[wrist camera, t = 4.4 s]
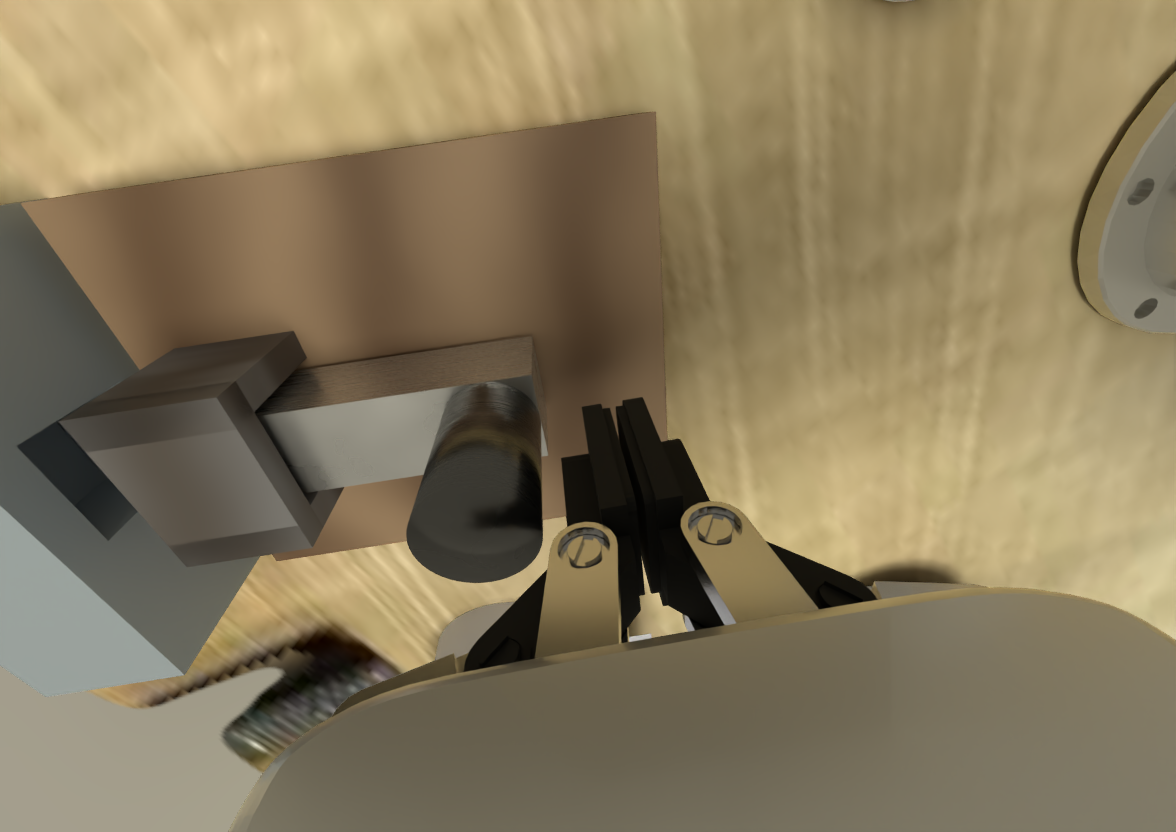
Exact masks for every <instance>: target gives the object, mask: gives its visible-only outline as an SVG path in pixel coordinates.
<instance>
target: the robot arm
mask: <svg viewBox="0 0 1176 832" xmlns="http://www.w3.org/2000/svg"><path fill="white" fill-rule="evenodd" d="M1077 263H1078V271H1079V278H1080V285H1081V287H1082V289H1083V291H1084V293H1085V296H1086V298H1087V300H1088V302H1089V303H1090V304H1091V305H1092V306H1093V307H1094V308H1095V309H1096V310H1097V311H1098V312H1099V313H1100V314H1101V315H1102V316H1104V317H1106V318H1108V319H1110V320H1112V321H1114V322H1117V323H1119V324H1121V325H1124V326H1128V327H1131V328H1134V329H1138V330H1141V331H1144V332H1148V333H1161V334H1176V71H1175V72H1174V73H1173V74H1172V75H1171V76H1170V77H1169V78H1168V79H1167V80H1166V81H1165V83H1164V84H1163V85H1162V86H1161V87H1160V88H1159V89H1158V90H1157V92H1156V93H1155V94H1154V96H1153V97H1152V98H1151V100H1150V101H1149V102H1148V103H1147V105H1146V106H1145V107H1144V109H1143V110H1142V111H1141V113H1140V114H1139V115H1138V117H1137V118H1136V119H1135V120H1134V122H1133V123H1132V124H1131V126H1130V127H1129V129H1128V130H1127V132H1126V133H1125V135H1124V137H1123V138H1122V140H1121V142H1120V143H1119V145H1118V146H1117V148H1116V150H1115V151H1114V153H1113V155H1112V156H1111V158H1110V159H1109V161H1108V163H1107V164H1106V166H1105V169H1104V171H1103V173H1102V175H1101V177H1100V179H1099V182H1098V184H1097V186H1096V188H1095V190H1094V192H1093V195H1092V197H1091V199H1090V202H1089V205H1088V208H1087V212H1086V215H1085V218H1084V222H1083V225H1082V228H1081V232H1080V241H1079V250H1078V259H1077ZM582 414H583V420H584V427H585V433H586V440H587V446H588V454H582V455H576V456H570V457H563V458H561V464H562V474H563V485H564V496H565V507H566V518H567V527H566V528H565V529H563V530H562V531H561V532H559V533H558V535H557V536H556V537H555V538H554V540H553V542H552V545H551V548H550V554H549V561H548V568H547V570H546V571H545V572H544V573H543V574H542V575H541V576H540V577H539V578H538V579H537V580H536V581H535V582H534V583H533V584H532V585H531V586H530V587H529V588H528V589H527V590H526V591H525V592H524V593H523V594H522V595H521V597H520V598H519V599H518V600H517V601H516V602H515V603H514V604H513V605H512V606H511V607H510V608H509V609H508V610H507V611H506V612H505V613H504V614H503V615H502V616H501V617H500V618H499V619H498V620H497V621H496V622H495V623H494V624H493V625H492V626H491V627H490V628H489V629H488V630H487V631H486V632H485V633H484V634H483V635H482V636H481V637H480V638H479V639H478V640H477V641H476V643H475V644H474V645H473V647H472V648H471V649H470V651H469V653H467V654H465V655H462V656H460V657H457V658H456V657H455V655H454V653H453V654H450V655H448V656H445V657H443V658H440V659H438V660H435V661H433V662H430V663H428V664H425V665H423V666H420V667H418V668H415V669H413V670H410V671H408V672H405V673H403V674H400V675H397V676H395V677H392V678H390V679H387V680H385V681H382V682H380V683H377V684H375V685H372V686H370V687H367V688H365V689H362V690H360V691H358V692H357V693H355V694H353V695H351V696H350V697H348V698H347V699H346V700H345V701H344V702H343V703H342V704H341V705H340V706H339V707H338V708H337V709H336V711H335V712H334V714H333V715H332V717H331V718H329V719H327V720H326V721H324V722H322V723H320V724H319V725H317V726H316V727H314V728H313V729H311V730H310V731H308V732H307V733H305V734H304V735H303V736H301V737H300V738H299V739H297V740H296V741H295V742H293V743H292V744H291V745H289V746H288V747H287V748H286V749H285V750H284V751H283V752H282V753H281V754H280V755H279V756H278V757H277V758H276V759H275V760H274V761H273V762H272V763H271V764H270V765H269V767H268V768H267V769H266V770H265V772H264V773H263V774H262V775H261V777H260V778H259V780H258V781H257V783H256V784H255V786H254V787H253V789H252V790H251V792H250V793H249V795H248V796H247V798H246V800H245V801H244V803H243V805H242V807H241V808H240V810H239V812H238V814H237V816H236V817H235V820H234V821H233V823H232V825H231V827H230V829H229V831H228V832H1176V640H1175V639H1173V638H1172V637H1170V636H1169V635H1167V634H1166V633H1164V632H1162V631H1161V630H1159V629H1157V628H1156V627H1154V626H1153V625H1151V624H1149V623H1148V622H1146V621H1144V620H1142V619H1140V618H1138V617H1136V616H1135V615H1133V614H1131V613H1129V612H1127V611H1124V610H1122V609H1119V608H1117V607H1114V606H1112V605H1109V604H1106V603H1103V602H1099V601H1096V600H1092V599H1088V598H1084V597H1079V596H1075V595H1071V594H1064V593H1057V592H1050V591H1043V590H1037V589H1026V588H1007V587H991V588H989V587H986V586H980V585H974V584H949V583H919V582H889V581H874V583H873V586H865V585H864V584H863V583H861V582H859V581H858V580H856V579H854V578H852V577H850V576H848V575H846V574H843V573H841V572H838V571H836V570H834V569H831V568H829V567H826V566H824V565H822V564H819V563H817V562H815V561H812V560H810V559H807V558H805V557H803V556H800V555H798V554H795V553H793V552H791V551H788V550H786V549H783V548H781V547H779V546H776V545H774V544H772V543H769V542H767V541H765V540H764V539H763V537H762V536H761V535H760V533H759V532H758V531H757V530H756V528H755V527H754V526H753V525H752V523H751V522H750V521H749V519H748V518H747V517H746V516H745V515H744V514H743V513H742V512H741V511H740V510H739V509H737V508H735V507H733V506H732V505H730V504H726V503H722V502H714V501H710V500H709V498H708V496H707V494H706V492H705V489H704V487H703V485H702V483H701V481H700V479H699V477H698V475H697V473H696V471H695V469H694V466H693V464H692V462H691V460H690V458H689V456H688V454H687V452H686V450H685V448H684V445H683V443H682V442H681V440H680V439H674V440H668V441H662V442H661V440H660V438H659V435H658V433H657V430H656V428H655V425H654V423H653V421H652V418H651V416H650V413H649V411H648V409H647V406H646V404H645V401H644V399H643V397H639V398H632V399H626V400H623V401H622V406H616V418H617V427H618V435H617V431H616V428H615V424H614V421H613V417H612V414H611V410H610V408H603V409H602V405H601V404H595V405H589V406H583V407H582ZM618 437H619V439H618ZM641 556H642V557H641ZM642 560H643V564H644V568H645V572H646V576H647V579H648V583H649V587H650V591H651V593H652V594H653V593H658V592H659V593H660V597H661V601H662V604H663V606H667V605H668V606H670V607H672V608H674V609H675V610H677V611H679V612H681V613H682V614H683V620H684V623H685V626H686V628H687V630H688V632H684V633H678V634H672V635H666V636H660V637H655V638H649V639H643V640H637V641H632V642H629V630H628V626H629V625H630V624H631V622H632V621H633V620H634V618H635V617H636V616H637V614H638V613H639V612H640V610H641V607H640V597H639V596H641V595H645V590H644V579H643V568H642Z"/></svg>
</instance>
